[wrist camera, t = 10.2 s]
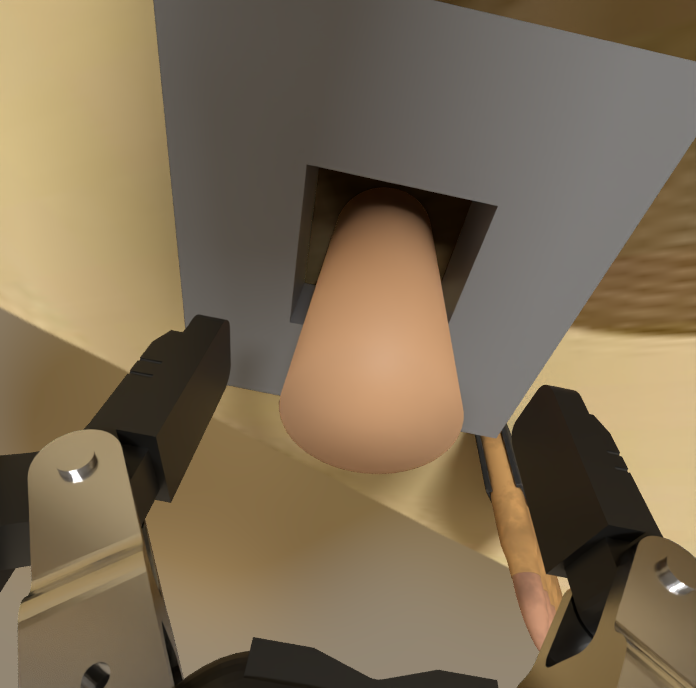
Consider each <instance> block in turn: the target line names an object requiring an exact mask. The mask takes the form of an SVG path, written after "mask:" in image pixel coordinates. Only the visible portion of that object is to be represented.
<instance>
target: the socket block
mask: <svg viewBox="0 0 696 688" xmlns="http://www.w3.org/2000/svg"><path fill="white" fill-rule="evenodd" d="M153 2H154V12H155V22H156V32H157V43H158V53H159V63H160V73H161V83H162V94H163V104H164V114H165V124H166V134H167V145H168V155H169V165H170V175H171V186H172V196H173V206H174V216H175V226H176V237H177V247H178V257H179V267H180V277H181V288H182V298H183V308H184V318H185V328H186V327H187V326H188V325H189V323H190V322H191V320H192V319H193V318H194V316H195V315H197V314H200V315H205V316H210V317H215V318H220V319H225V320H228V321H229V323H230V347H231V369H230V375H229V380H228V383H227V385H229V386H234V387H239V388H244V389H249V390H254V391H259V392H264V393H269V394H274V395H279V396H280V395H281V392H282V389H283V385H284V382H285V379H286V376H287V373H288V370H289V367H290V364H291V361H292V358H293V355H294V352H295V349H296V345H297V342H298V339H299V336H300V333H301V330H302V327H303V324H304V321H305V318H306V315H307V312H308V309H309V306H310V302H311V299H312V296H313V293H314V290H315V287H316V285H312V284H307V283H305V275H306V267H307V259H308V251H309V244H310V236H311V228H312V220H313V212H314V204H315V196H316V188H317V180H318V172H319V167H321V168H326V169H330V170H335V171H340V172H344V173H349V174H353V175H358V176H363V177H367V178H372V179H376V180H381V181H385V182H390V183H395V184H399V185H404V186H408V187H413V188H418V189H422V190H427V191H431V192H436V193H440V194H445V195H450V196H454V197H459V198H463V199H468V200H472V203H471V205H470V208H469V211H468V213H467V216H466V219H465V221H464V224H463V227H462V229H461V232H460V235H459V237H458V240H457V243H456V245H455V248H454V251H453V253H452V256H451V259H450V261H449V264H448V267H447V269H446V272H445V275H444V277H443V280H442V283H441V285H442V291H443V297H444V303H445V308H446V314H447V320H448V325H449V331H450V337H451V342H452V348H453V354H454V359H455V365H456V371H457V376H458V382H459V388H460V393H461V399H462V405H463V411H464V420H463V425H462V429H461V432H466V433H471V434H476V435H481V436H486V437H491V438H497V437H498V435H499V434H500V432H501V431H502V429H503V428H504V426H505V424H506V423H507V421H508V420H509V418H510V417H511V415H512V414H513V412H514V411H515V409H516V408H517V406H518V405H519V403H520V402H521V400H522V399H523V397H524V396H525V394H526V393H527V391H528V390H529V388H530V387H531V385H532V384H533V382H534V381H535V379H536V378H537V376H538V375H539V373H540V372H541V370H542V369H543V367H544V366H545V364H546V362H547V361H548V359H549V358H550V356H551V355H552V353H553V352H554V350H555V349H556V347H557V346H558V344H559V343H560V341H561V340H562V338H563V337H564V335H565V334H566V332H567V331H568V329H569V328H570V326H571V325H572V323H573V322H574V320H575V319H576V317H577V316H578V314H579V313H580V311H581V310H582V308H583V307H584V305H585V304H586V302H587V300H588V299H589V297H590V296H591V294H592V293H593V291H594V290H595V288H596V287H597V285H598V284H599V282H600V281H601V279H602V278H603V276H604V275H605V273H606V272H607V270H608V269H609V267H610V266H611V264H612V263H613V261H614V260H615V258H616V257H617V255H618V254H619V252H620V251H621V249H622V248H623V246H624V245H625V243H626V242H627V240H628V238H629V237H630V235H631V234H632V232H633V231H634V229H635V228H636V226H637V225H638V223H639V222H640V220H641V219H642V217H643V216H644V214H645V213H646V211H647V210H648V208H649V207H650V205H651V204H652V202H653V201H654V199H655V198H656V196H657V195H658V193H659V192H660V190H661V189H662V187H663V186H664V184H665V183H666V181H667V180H668V178H669V176H670V175H671V173H672V172H673V170H674V169H675V167H676V166H677V164H678V163H679V161H680V160H681V158H682V157H683V155H684V154H685V152H686V151H687V149H688V148H689V146H690V145H691V143H692V142H693V140H694V139H695V137H696V62H695V61H691V60H687V59H682V58H678V57H674V56H669V55H665V54H661V53H657V52H652V51H648V50H644V49H640V48H635V47H631V46H627V45H622V44H618V43H614V42H610V41H605V40H601V39H597V38H593V37H588V36H584V35H580V34H576V33H571V32H567V31H563V30H558V29H554V28H550V27H546V26H541V25H537V24H533V23H529V22H524V21H520V20H516V19H512V18H507V17H503V16H499V15H494V14H490V13H486V12H482V11H477V10H473V9H469V8H465V7H460V6H456V5H452V4H448V3H443V2H439V1H435V0H153Z"/></svg>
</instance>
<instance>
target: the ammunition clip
mask: <svg viewBox="0 0 696 688" xmlns="http://www.w3.org/2000/svg"><path fill="white" fill-rule="evenodd" d="M475 438H476V443H477V448H478V453H479V458H480V463H481V469H482V474H483V479H484V484H485V489H486V492H487V494H488V496H489V498H490V500H491V502H492V505H493V510H494V515H495V520H496V525H497V530H498V535H499V539H500V543H501V547H502V549H503V552H504V554H505V557H506V559H507V562H508V566H509V570H510V574H511V578H512V579H513V583H514V588H515V593H516V597H517V600H518V603H519V607H520V610H521V613H522V616H523V618H524V621H525V624H526V626H527V629H528V631H529V633H530V636H531V638H532V640H533V642H534V644H535V646H536V647H537V649H538V650H539V651H540V649H541V647H542V644H543V642H544V640H545V637H546V635H547V633H548V630H549V628H550V626H551V623H552V621H553V618H554V616H555V614H556V611H557V609H558V607H559V604H560V602H561V600H562V597H563V596H562V593H561V589H560V586H559V582H558V579H557V576H554V575H548V574H546V572H545V568H544V564H543V561H542V557H541V553H540V549H539V545H538V542H537V538H536V534H535V530H534V526H533V523H532V519H531V515H530V511H529V507H528V504H527V500H526V496H525V492H524V488H523V485H522V481H521V477H520V473H519V469H518V466H517V462H516V458H515V454H514V451H513V447H512V436H511V433H510V430H509V428H508V425H507V423H506V424H505V426H504V428H503V429H502V431H501V432H500V434H499V435H498V437H497V438H491V437H486V436H481V435H476V434H475Z"/></svg>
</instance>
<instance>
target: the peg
mask: <svg viewBox="0 0 696 688" xmlns="http://www.w3.org/2000/svg"><path fill="white" fill-rule="evenodd" d="M279 412H280V417H281V420H282V423H283V426H284V428H285V429H286V431H287V433H288V434H289V436H290V437H291V438H292V439H293V441H294V442H295V443H296V444H297V445H298V446H299V447H301V448H302V449H303V450H304V451H306V452H307V453H308V454H310V455H311V456H313V457H315V458H316V459H318V460H320V461H322V462H324V463H327V464H329V465H332V466H334V467H338V468H341V469H344V470H349V471H353V472H360V473H370V474H387V473H397V472H403V471H407V470H411V469H415V468H418V467H420V466H423V465H425V464H427V463H430V462H432V461H433V460H435V459H437V458H438V457H440V456H441V455H442V454H444V453H445V452H446V451H447V450H448V449H449V448H450V447H451V446H452V445H453V444H454V442H455V441H456V439H457V438H458V436H459V434H460V432H461V429H462V425H463V420H464V411H463V405H462V399H461V393H460V388H459V382H458V376H457V371H456V365H455V359H454V354H453V348H452V342H451V337H450V331H449V325H448V320H447V314H446V308H445V303H444V297H443V291H442V285H441V280H440V274H439V268H438V263H437V257H436V251H435V246H434V240H433V234H432V229H431V223H430V220H429V216H428V214H427V212H426V210H425V209H424V207H423V206H422V205H421V204H420V203H419V201H418V200H416V199H415V198H414V197H413V196H411V195H410V194H408V193H406V192H404V191H402V190H398V189H395V188H388V187H380V188H373V189H369V190H366V191H364V192H362V193H360V194H358V195H356V196H355V197H354V198H352V199H351V200H350V201H349V202H348V203H347V204H346V205H345V207H344V208H343V209H342V211H341V213H340V215H339V217H338V220H337V222H336V226H335V229H334V232H333V235H332V238H331V241H330V244H329V247H328V250H327V253H326V256H325V259H324V262H323V266H322V269H321V272H320V275H319V278H318V281H317V284H316V287H315V290H314V293H313V296H312V299H311V302H310V306H309V309H308V312H307V315H306V318H305V321H304V324H303V327H302V330H301V333H300V336H299V339H298V342H297V345H296V349H295V352H294V355H293V358H292V361H291V364H290V367H289V370H288V373H287V376H286V379H285V382H284V385H283V389H282V392H281V395H280V400H279Z"/></svg>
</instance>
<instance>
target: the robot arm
mask: <svg viewBox="0 0 696 688" xmlns="http://www.w3.org/2000/svg"><path fill="white" fill-rule="evenodd" d="M230 369H231V347H230V323H229V321H228V320H225V319H220V318H215V317H210V316H205V315H200V314H197V315H195V316H194V318H193V319H192V320H191V322H190V323H189V325H188V326H187V327H186V329H185V330H184V332H178V331H173V330H171V331H169V332H167V333H166V334H164V335H163V336H161V337H159V338H158V339H156V340H154V341H153V342H152V343H151V344H150V345H149V347H148V348H147V349H146V351H145V352H144V353H143V355H142V356H141V357H140V361H137V362H136V364H135V365H134V366H133V367H132V369H131V370H130V374H127V375H126V376H125V378H124V379H123V380H122V382H121V383H120V384H119V385H118V387H117V388H116V389H115V391H114V392H113V393H112V395H111V396H110V397H109V399H108V400H107V401H106V402H105V404H104V405H103V406H102V407H101V409H100V410H99V411H98V413H97V414H96V415H95V416H94V418H93V419H92V421H91V422H90V423H89V424H88V425H87V426H86V428H84V429H83V430H80V431H75V432H72V433H69V434H66V435H63V436H62V437H59V438H57V439H56V440H54V441H52V442H51V443H49V444H48V445H47V446H45V447H44V448H43V449H42V450H41V451H39V452H33V453H23V454H12V455H1V456H0V592H1V590H2V589H3V587H4V585H5V584H6V582H7V581H8V579H9V578H10V576H11V575H12V573H13V571H14V570H15V568H19V567H24V566H31V581H32V582H31V590H30V593H29V595H28V596H26V597H25V598H24V599H23V600H22V602H21V604H20V608H19V614H18V630H17V632H18V688H498V683H497V680H493V679H486V678H482V677H475V676H470V675H465V674H459V673H453V672H448V671H442V670H434V671H428V672H423V673H417V674H411V675H406V676H400V677H394V678H389V679H382V680H376V679H372V678H369V677H368V676H366V675H364V674H362V673H360V672H358V671H356V670H354V669H353V668H351V667H349V666H347V665H345V664H343V663H341V662H339V661H338V660H336V659H334V658H332V657H330V656H328V655H326V654H324V653H323V652H321V651H319V650H317V649H315V648H311V647H306V646H300V645H295V644H289V643H283V642H278V641H272V640H266V639H261V638H255V637H253V640H252V644H251V649H250V651H246V652H240V653H235V654H232V655H229V656H226V657H223V658H220V659H218V660H215V661H213V662H211V663H209V664H207V665H205V666H203V667H202V668H200V669H198V670H197V671H195V672H194V673H192V674H190V675H189V676H187V677H186V678H185V679H184V677H183V673H182V669H181V665H180V660H179V656H178V652H177V648H176V644H175V640H174V635H173V632H172V628H171V624H170V620H169V617H168V613H167V610H166V606H165V602H164V598H163V593H162V589H161V585H160V580H159V576H158V572H157V568H156V563H155V559H154V555H153V551H152V546H151V542H150V538H149V534H148V529H147V525H146V521H145V518H146V516H147V514H148V512H149V510H150V508H151V506H152V504H153V502H154V500H160V501H165V502H170V503H171V501H172V499H173V497H174V495H175V493H176V491H177V489H178V487H179V485H180V483H181V480H182V478H183V476H184V474H185V472H186V470H187V468H188V466H189V463H190V462H191V460H192V457H193V455H194V453H195V451H196V449H197V447H198V445H199V443H200V441H201V439H202V436H203V434H204V432H205V430H206V428H207V426H208V424H209V422H210V420H211V418H212V416H213V413H214V411H215V409H216V407H217V405H218V403H219V401H220V399H221V397H222V395H223V392H224V390H225V388H226V386H227V383H228V380H229V375H230ZM512 447H513V451H514V454H515V458H516V462H517V466H518V469H519V473H520V477H521V481H522V485H523V488H524V492H525V496H526V500H527V504H528V507H529V511H530V515H531V519H532V523H533V526H534V530H535V534H536V538H537V542H538V545H539V549H540V553H541V557H542V561H543V564H544V568H545V572H546V574H548V575H554V576H559V577H565V578H568V582H569V585H570V589H569V590H567V591H566V592H565V594H564V595H563V597H562V600H561V602H560V604H559V607H558V609H557V611H556V614H555V616H554V618H553V621H552V623H551V626H550V628H549V630H548V633H547V635H546V637H545V640H544V642H543V644H542V647H541V649H540V651H539V654H538V656H537V659H536V661H535V663H534V665H533V667H532V669H531V670H530V672H529V673H528V675H527V676H526V677H525V678H524V679H523V680H522V681H521V682H520V684H519V685H518V686H517V688H696V558H695V557H694V556H693V555H692V554H691V553H689V552H688V551H687V550H685V549H684V548H683V547H681V546H680V545H678V544H677V543H675V542H673V541H671V540H669V539H666V538H663V536H662V534H661V532H660V530H659V528H658V527H657V525H656V523H655V521H654V519H653V517H652V515H651V513H650V511H649V509H648V507H647V505H646V503H645V501H644V499H643V497H642V495H641V493H640V491H639V489H638V487H637V485H636V483H635V481H634V479H633V477H632V475H631V474H630V473H628V472H627V470H628V468H627V466H626V464H625V462H624V460H623V458H622V456H619V453H620V452H619V450H618V448H617V446H616V444H615V442H614V440H613V438H612V436H611V434H610V433H609V432H608V430H607V429H606V428H605V427H604V426H603V425H602V424H601V423H600V422H599V421H598V419H597V418H596V417H595V416H594V415H591V414H589V412H588V410H587V408H586V406H585V404H584V402H583V400H582V398H581V396H580V394H579V393H578V392H577V391H574V390H570V389H565V388H560V387H555V386H550V385H543V386H541V387H540V388H539V389H538V390H537V392H536V393H535V394H534V396H533V397H532V399H531V400H530V402H529V403H528V404H527V406H526V407H525V409H524V410H523V412H522V413H521V415H520V416H519V417H518V419H517V420H516V422H515V424H514V426H513V430H512Z"/></svg>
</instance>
